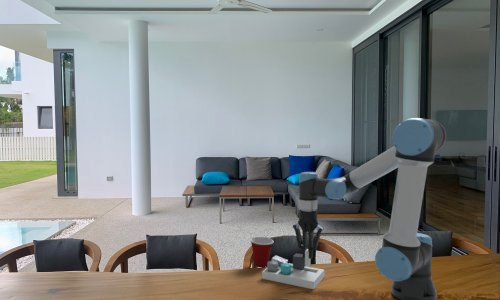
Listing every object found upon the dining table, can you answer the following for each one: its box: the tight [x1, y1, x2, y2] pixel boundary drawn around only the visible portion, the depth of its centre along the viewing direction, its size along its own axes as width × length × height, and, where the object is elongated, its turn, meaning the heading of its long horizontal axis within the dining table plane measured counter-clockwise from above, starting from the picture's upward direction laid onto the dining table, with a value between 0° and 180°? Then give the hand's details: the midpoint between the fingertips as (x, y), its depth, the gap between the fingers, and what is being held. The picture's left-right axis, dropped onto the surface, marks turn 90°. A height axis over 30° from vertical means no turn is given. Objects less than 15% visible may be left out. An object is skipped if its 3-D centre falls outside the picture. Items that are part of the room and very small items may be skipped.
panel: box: [261, 262, 326, 290], centre depth 147 cm, size 22×14×4 cm, turn 61°
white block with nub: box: [270, 255, 289, 265], centre depth 154 cm, size 6×4×1 cm, turn 61°
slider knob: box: [292, 252, 305, 269], centre depth 150 cm, size 4×4×5 cm
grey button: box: [266, 260, 278, 272], centre depth 148 cm, size 4×4×3 cm
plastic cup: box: [249, 236, 274, 269], centre depth 162 cm, size 11×11×12 cm
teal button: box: [281, 263, 292, 275], centre depth 145 cm, size 4×4×3 cm
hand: (307, 265), depth 148 cm, fingers closed
